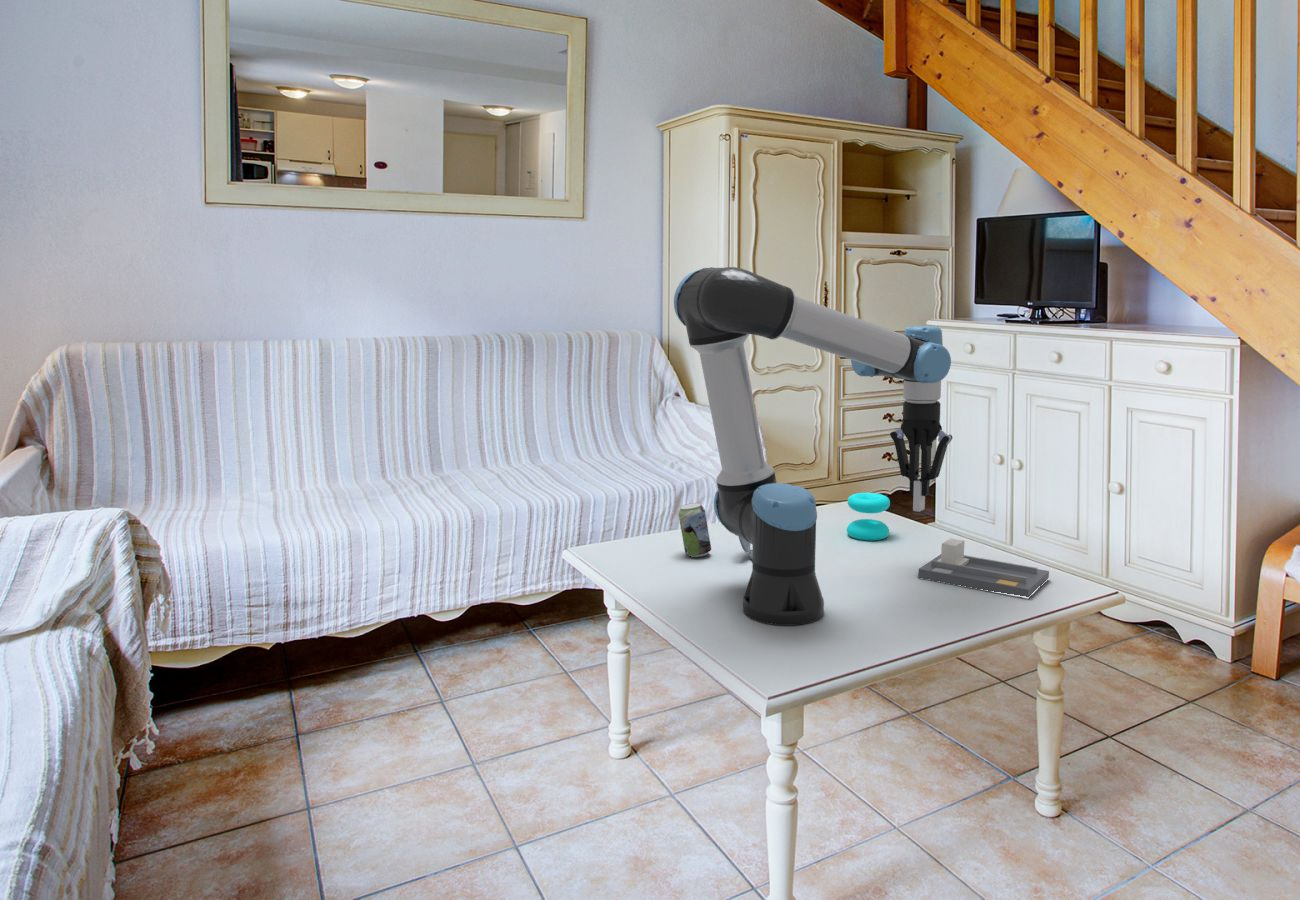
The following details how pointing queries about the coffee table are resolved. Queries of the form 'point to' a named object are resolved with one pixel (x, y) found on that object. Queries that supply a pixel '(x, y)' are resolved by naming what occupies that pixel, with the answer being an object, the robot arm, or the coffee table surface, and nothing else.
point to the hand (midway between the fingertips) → (918, 509)
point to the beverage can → (694, 530)
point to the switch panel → (986, 575)
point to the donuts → (868, 527)
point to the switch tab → (953, 552)
